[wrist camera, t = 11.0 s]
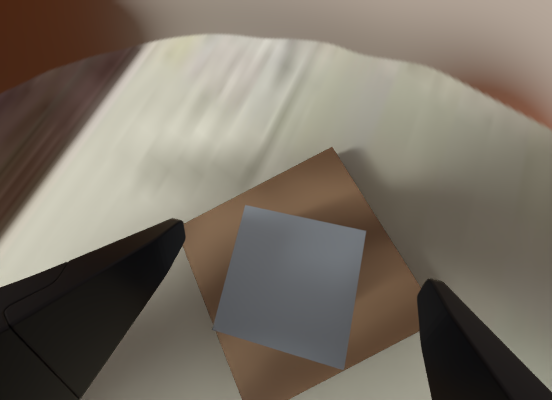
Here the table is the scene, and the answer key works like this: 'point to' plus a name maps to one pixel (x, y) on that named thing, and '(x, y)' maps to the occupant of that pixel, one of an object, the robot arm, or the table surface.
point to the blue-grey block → (292, 285)
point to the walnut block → (370, 290)
